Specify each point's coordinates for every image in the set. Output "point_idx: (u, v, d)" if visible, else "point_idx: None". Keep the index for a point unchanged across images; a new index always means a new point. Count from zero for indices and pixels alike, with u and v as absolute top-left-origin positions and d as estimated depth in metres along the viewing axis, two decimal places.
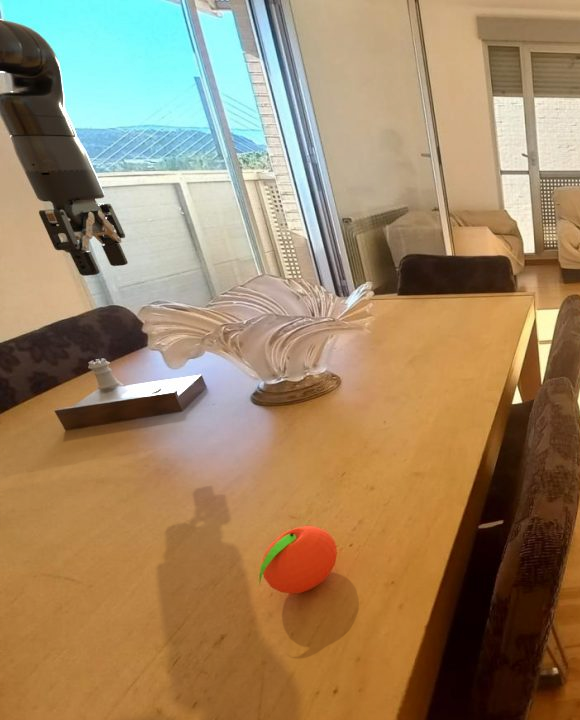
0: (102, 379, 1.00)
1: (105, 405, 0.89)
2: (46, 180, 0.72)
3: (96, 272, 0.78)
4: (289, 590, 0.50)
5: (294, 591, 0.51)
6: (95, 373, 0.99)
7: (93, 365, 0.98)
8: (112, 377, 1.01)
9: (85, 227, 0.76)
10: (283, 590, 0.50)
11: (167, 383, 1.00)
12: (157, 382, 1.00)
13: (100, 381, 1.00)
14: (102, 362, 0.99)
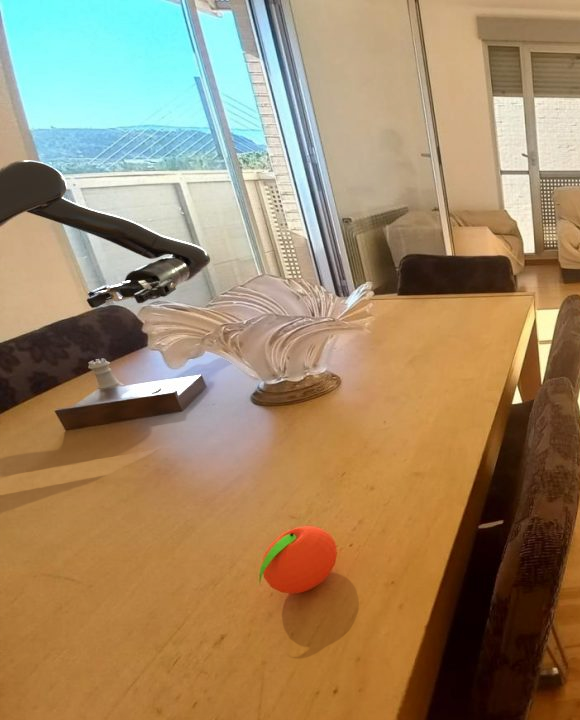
0: (102, 379, 1.00)
1: (105, 405, 0.89)
2: (168, 279, 1.19)
3: (142, 302, 1.07)
4: (289, 590, 0.50)
5: (294, 591, 0.51)
6: (95, 373, 0.99)
7: (93, 365, 0.98)
8: (112, 377, 1.01)
9: None
10: (283, 590, 0.50)
11: (167, 383, 1.00)
12: (157, 382, 1.00)
13: (100, 381, 1.00)
14: (102, 362, 0.99)
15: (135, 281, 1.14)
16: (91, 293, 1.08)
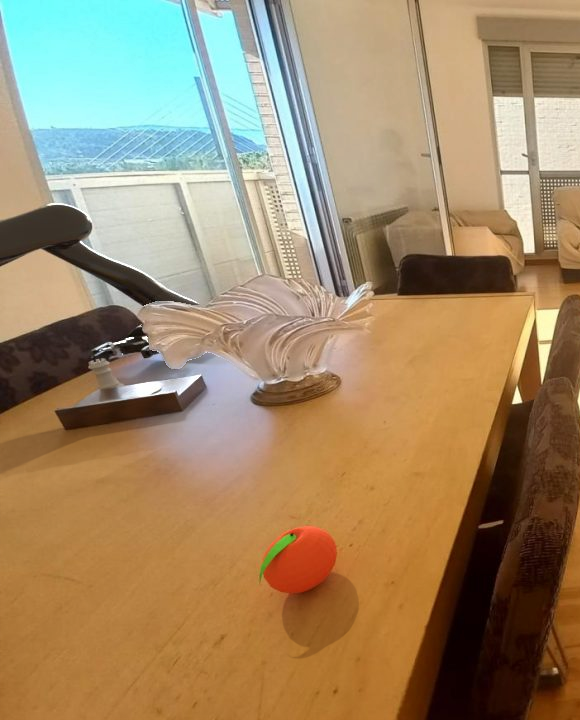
0: (102, 379, 1.00)
1: (105, 405, 0.89)
2: None
3: (148, 357, 1.09)
4: (289, 590, 0.50)
5: (294, 591, 0.51)
6: (95, 373, 0.99)
7: (93, 365, 0.98)
8: (112, 377, 1.01)
9: None
10: (283, 590, 0.50)
11: (167, 383, 1.00)
12: (157, 382, 1.00)
13: (100, 381, 1.00)
14: (102, 362, 0.99)
15: (138, 337, 1.15)
16: (95, 350, 1.08)
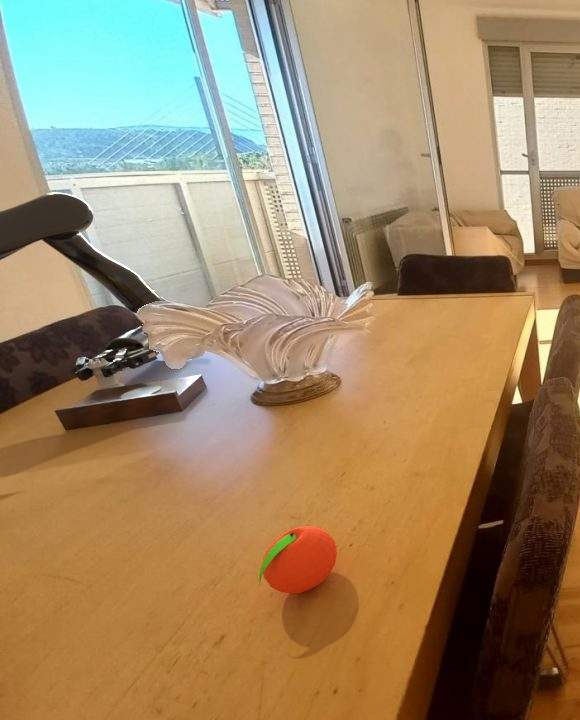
0: (102, 379, 1.00)
1: (105, 405, 0.89)
2: None
3: (109, 376, 0.99)
4: (289, 590, 0.50)
5: (294, 591, 0.51)
6: (95, 373, 0.99)
7: (93, 365, 0.98)
8: (112, 377, 1.01)
9: None
10: (283, 590, 0.50)
11: (167, 383, 1.00)
12: (157, 382, 1.00)
13: (100, 381, 1.00)
14: (102, 362, 0.99)
15: (117, 350, 1.07)
16: (81, 364, 1.00)
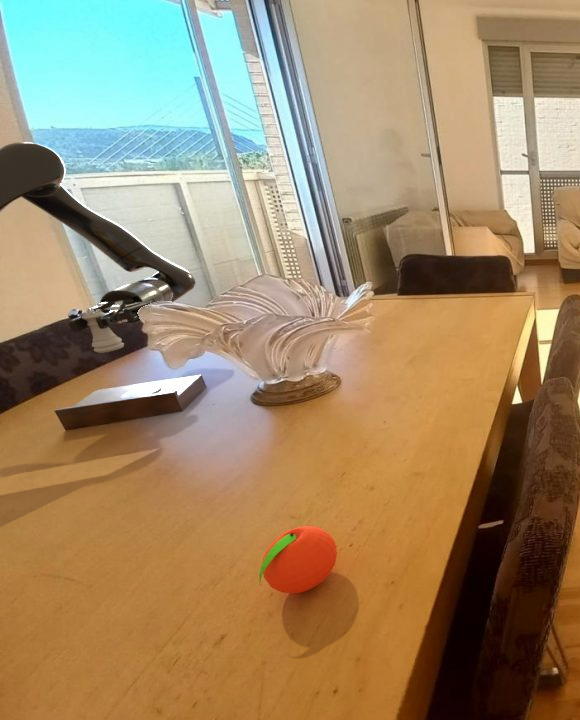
0: (97, 331, 0.92)
1: (105, 405, 0.89)
2: (151, 300, 1.04)
3: None
4: (289, 590, 0.50)
5: (294, 591, 0.51)
6: (89, 324, 0.91)
7: (87, 315, 0.91)
8: (108, 329, 0.93)
9: None
10: (283, 590, 0.50)
11: (167, 383, 1.00)
12: (157, 382, 1.00)
13: (95, 333, 0.92)
14: (97, 312, 0.92)
15: (113, 303, 1.00)
16: (74, 315, 0.92)
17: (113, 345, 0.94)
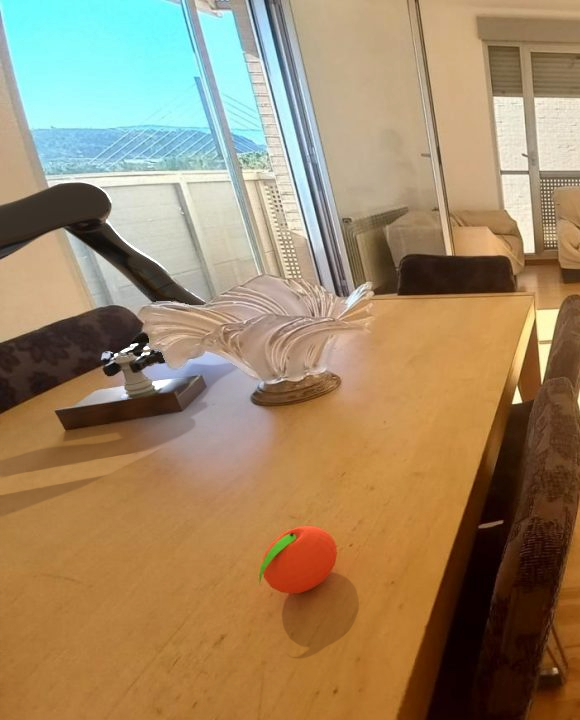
0: (130, 375, 0.93)
1: (105, 405, 0.89)
2: None
3: None
4: (289, 590, 0.50)
5: (294, 591, 0.51)
6: (122, 368, 0.92)
7: (120, 360, 0.92)
8: (140, 373, 0.95)
9: None
10: (283, 590, 0.50)
11: (167, 383, 1.00)
12: (157, 382, 1.00)
13: (128, 377, 0.93)
14: (130, 356, 0.93)
15: (143, 344, 1.01)
16: (107, 359, 0.93)
17: (145, 388, 0.95)
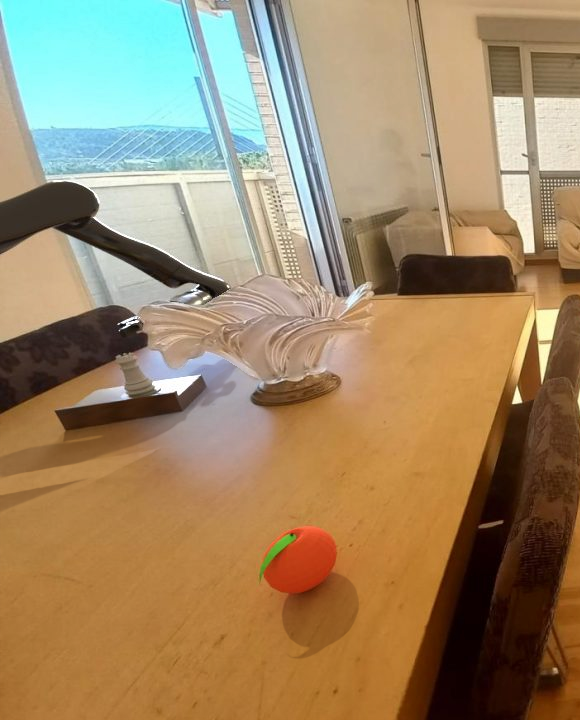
0: (130, 375, 0.93)
1: (105, 405, 0.89)
2: None
3: None
4: (289, 590, 0.50)
5: (294, 591, 0.51)
6: (123, 368, 0.93)
7: (121, 360, 0.92)
8: (140, 373, 0.95)
9: None
10: (283, 590, 0.50)
11: (167, 383, 1.00)
12: (157, 382, 1.00)
13: (128, 377, 0.93)
14: (130, 356, 0.93)
15: None
16: (121, 324, 1.03)
17: (145, 388, 0.95)
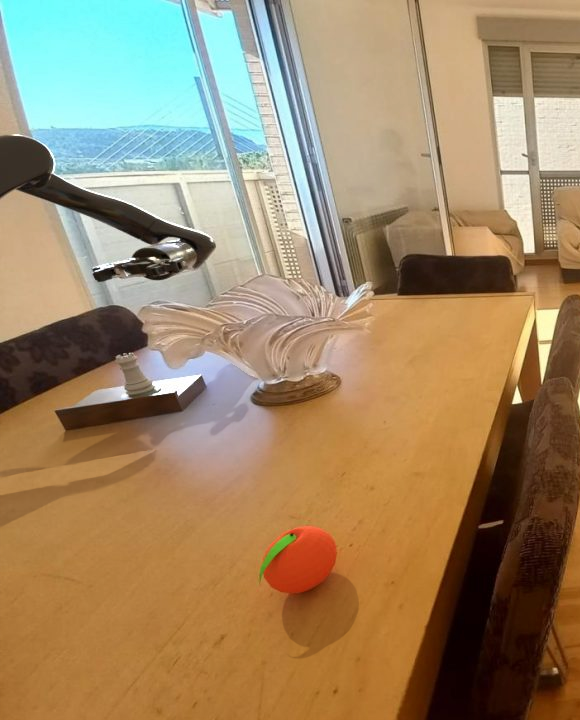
0: (130, 375, 0.93)
1: (105, 405, 0.89)
2: None
3: (154, 276, 0.99)
4: (289, 590, 0.50)
5: (294, 591, 0.51)
6: (123, 368, 0.93)
7: (121, 360, 0.92)
8: (140, 373, 0.95)
9: None
10: (283, 590, 0.50)
11: (167, 383, 1.00)
12: (157, 382, 1.00)
13: (128, 377, 0.93)
14: (130, 356, 0.93)
15: (143, 259, 1.06)
16: (96, 268, 0.98)
17: (145, 388, 0.95)
